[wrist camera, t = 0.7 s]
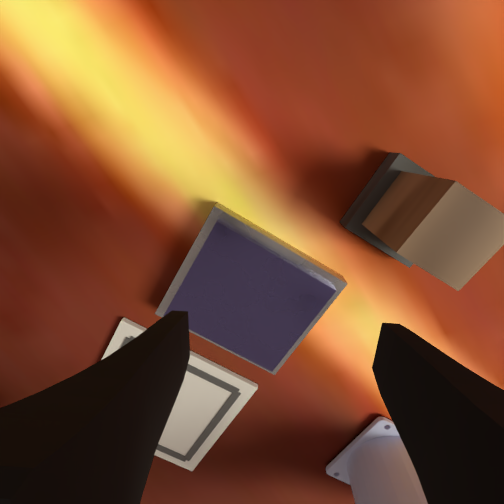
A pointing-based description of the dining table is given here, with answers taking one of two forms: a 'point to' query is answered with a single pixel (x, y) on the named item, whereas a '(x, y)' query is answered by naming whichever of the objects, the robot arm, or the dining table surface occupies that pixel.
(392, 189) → the stamp
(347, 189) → the dining table surface
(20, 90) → the dining table surface
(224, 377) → the print card
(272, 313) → the ink pad
